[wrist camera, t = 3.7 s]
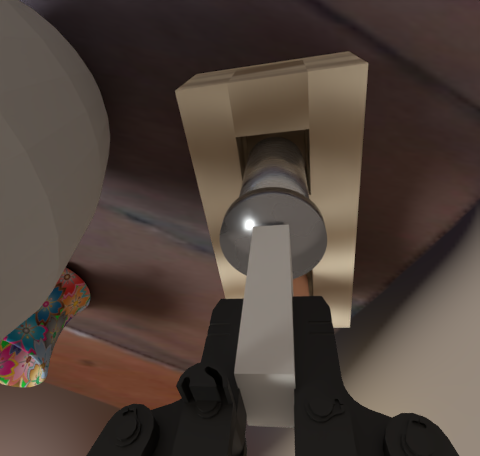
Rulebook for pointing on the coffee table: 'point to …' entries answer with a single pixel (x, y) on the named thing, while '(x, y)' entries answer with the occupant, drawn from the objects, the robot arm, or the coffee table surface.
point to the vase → (43, 158)
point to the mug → (41, 333)
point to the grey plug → (274, 207)
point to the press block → (296, 130)
